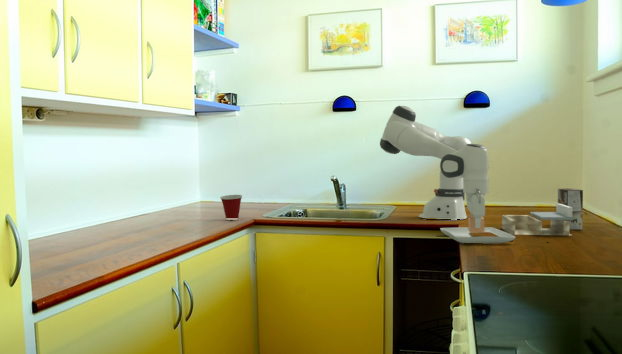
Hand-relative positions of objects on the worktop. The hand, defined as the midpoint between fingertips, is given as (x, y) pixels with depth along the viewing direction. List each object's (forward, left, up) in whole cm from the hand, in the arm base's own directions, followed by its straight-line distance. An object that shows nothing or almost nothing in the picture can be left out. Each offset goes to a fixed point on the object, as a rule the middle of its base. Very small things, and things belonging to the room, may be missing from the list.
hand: (475, 225), depth 178 cm
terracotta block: (0, 0, -2) cm, 2 cm away
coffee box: (+42, +28, -5) cm, 51 cm away
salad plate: (0, 0, -6) cm, 6 cm away
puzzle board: (+24, +12, -5) cm, 28 cm away
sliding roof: (+30, +12, +1) cm, 32 cm away
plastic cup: (-108, +42, -5) cm, 116 cm away
